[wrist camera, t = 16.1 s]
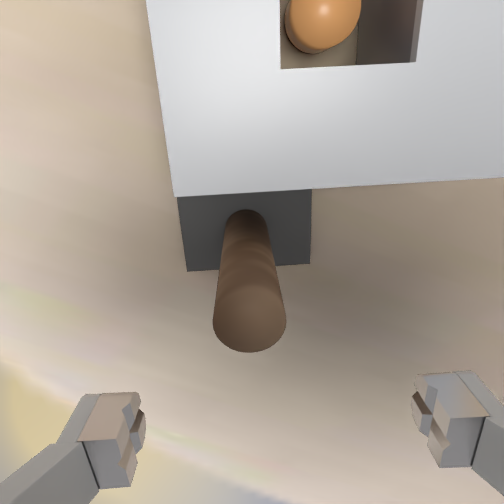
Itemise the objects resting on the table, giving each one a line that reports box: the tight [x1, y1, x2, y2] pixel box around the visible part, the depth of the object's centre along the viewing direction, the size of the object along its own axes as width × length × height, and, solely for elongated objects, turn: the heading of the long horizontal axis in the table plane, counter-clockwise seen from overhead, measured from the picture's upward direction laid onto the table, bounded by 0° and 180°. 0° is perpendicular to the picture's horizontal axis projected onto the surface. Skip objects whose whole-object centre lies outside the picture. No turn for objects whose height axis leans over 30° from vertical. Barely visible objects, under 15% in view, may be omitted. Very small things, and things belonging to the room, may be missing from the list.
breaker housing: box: [146, 0, 504, 197], centre depth 15 cm, size 14×14×7 cm
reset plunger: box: [285, 0, 361, 53], centre depth 16 cm, size 3×3×2 cm
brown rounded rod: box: [213, 209, 286, 353], centre depth 17 cm, size 3×3×10 cm
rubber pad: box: [177, 189, 312, 272], centre depth 22 cm, size 8×5×1 cm, turn 93°
